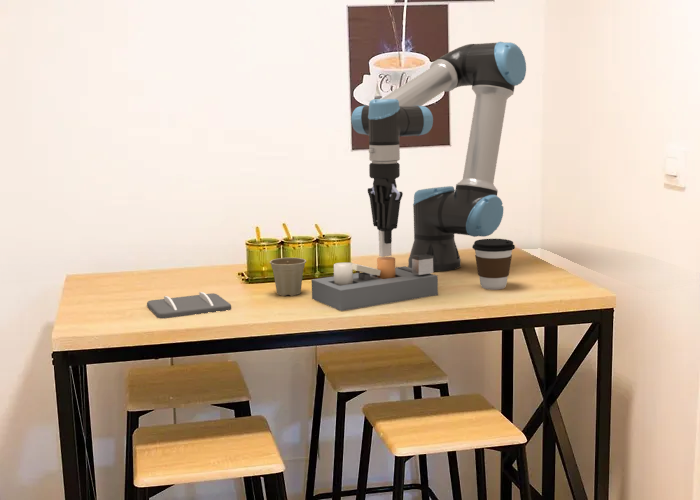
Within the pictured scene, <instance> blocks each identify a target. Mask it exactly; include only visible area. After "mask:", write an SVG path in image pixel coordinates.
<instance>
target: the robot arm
mask: <svg viewBox="0 0 700 500" xmlns="http://www.w3.org/2000/svg"><path fill="white" fill-rule="evenodd" d="M526 62H527V61H526V58H525V55H524V53H523V50H522V49H521V48H520V46H518V45H517V44H515V43H513V42H505V41H504V42H503V41H498V42H486V43H469V44H465V45H461V46H459V47H457V48H455V49H453V50H451V51H449V52H447V53H446V54H444V55H442V56H440V57H438V58H437V59H435V60H434V61H433V62H432V63H431V64H430V67H429V68H428V69H426V70H424V71H423V72H422V73H420V74H419V75H417V76H416V77H414V78H412V79H411V80H409V81H407V82H406V83H404V84H403V85H401V86H399V87H398V88H396V89H395V90H393V91H392V92H390V93H389V94H387V95H386V96H384V97H383V98H380V99H379V98H378V99H377V98H376V99H375V98H374V99H371V100H370V101H369V103H368V105H366V104H365V105H360V106H358V107H355V109H354V110H353V111H352V114H351V117H350V120H351V126H352V129H353V130H354V131H355V132H356V133H357V134H360V135H366V136H368V145H369V150H368V153H369V155H368V156H369V158H368V159H369V160H368V161H371V162H370V163H369V165H368V166H369V167H368V168H369V169H368V171H369V178H370V179H373V182H372V187H370V188H367V194H368V197H369V202H370V209H371V217H372V224H373V227H376V228H377V230H378V246H379V247H378V250H379V253H378V255H379V257H393V256H392V242H393V238H392V232H393V230H395V229H397V228H398V223H399V215H400V207H401V200H402V198H403V194H404V193H403V191H399V190H398V189H397V186H398V185H397V182H396V179H398V178H399V177H400V173H401V172H400V171H401V169H400V168H401V167H400V163H399V161H400V159H401V156H400V154H401V153H400V151H401V150H400V137H416V136H417V137H420V136H422V135H426V134H429V132H431V129H433V128H432V127H433V125H434V124H433V123H434V116H433V114H432V111H431V110H430V108H428V107H426V106H425V104H427V103H428V102H430V101H431V100H433V99H434V98H436V97H437V96H439V95H440V94H442V93H443V92H450V91H453V90H454V89H456V88H459V87H467V86H471V90H472V91H473V92H474V94H475V100H474V106H473V112H472V120H471V125H470V130H469V137H468V138H469V139H468V143H467V145H468V146H467V150H466V156H465V161H464V162H465V164H464V169H463V174H462V175H463V176H462V179H461V180H460V181H459V182H457V183H456V184H455V187H454V186H450V185H449V186H448V185H447V186H436V187H430V188H423V189H418V190H416V191H415V192H414V194H413V195H414V196H413V204H412V206H413V207H412V208H413V237H414V238H413V243H412V247H411V250H410V253H409V257H408V259H407V260H408V263H407V264H408V267H409V268H412V258H411V256H413V255H420V254H430V255H434V258H433V272H446V271H447V272H448V271H453V270H458V269H459V268H461V263H462V262H461V259H462V258H461V256H460V254H459V251H458V246H457V245H456V244H457V243H456V240H455V234H456V235H464V236H470V237H474V238H475V237H488V236H491V235H492V234H493V233H494V232H495V231H496V230H498V228H499V227H500V225H501V222H502V220H503V216H504V206H503V201H502V199H501V198H500V197H499V196H498V193H499V191H498V188H497V187H496V186H495V185H494V183H495V175H496V171H497V170H496V169H497V164H498V157H499V153H500V152H499V150H500V143H501V138H502V132H503V127H504V126H503V125H504V119H505V113H506V107H507V100H508V99H509V98H510V97H512V96H513V95H514V92H515V86H518V85H520V84H522V83H523V81H524V80H525V78H526V73H527V63H526Z"/></svg>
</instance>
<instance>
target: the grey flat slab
mask: <svg viewBox="0 0 700 500" xmlns="http://www.w3.org/2000/svg"><path fill="white" fill-rule="evenodd" d="M146 307H147V308H148V309H149V310H150V311H151V312H152V313H153V315H155V317H157V318H158V319H170V318H178V317H179V318H180V317H187V316H194V315H195V314H196V315H202V314H201V313H204V314H209V313H208V312H212V313H217V312H216V311H220V312H227V311H226V310H228V311H232V305H231V303H230V302H228V301H227V300H225V299H224V298H223V297H222V296H220V295H219V294H218V293H205V292H204V291H199V293H198V294H195V295H187V296H178V297H176V296H175V297H170V296H167V295H165V296H164V297H163V298H160V299H151V300H148V301H147V302H146Z"/></svg>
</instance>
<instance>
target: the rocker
mask: <svg viewBox="0 0 700 500" xmlns="http://www.w3.org/2000/svg"><path fill="white" fill-rule="evenodd" d="M348 263H352V269H353V271H356V272H360V273H361V272H365V273H370V274H374V275H378V276H380V272H381V270H378V269H377V268H374V267H371V266H368V265H362V264H358V263H353V262H348Z"/></svg>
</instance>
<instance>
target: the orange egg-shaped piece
mask: <svg viewBox="0 0 700 500" xmlns="http://www.w3.org/2000/svg"><path fill="white" fill-rule="evenodd" d="M395 268H396V258H395V257H394V256H384V257H382V256H379V257H377V258H376V269H378V270H381V272H380V276H378V275H377V277H378V278H381V279H388V278H395V277H396V273H395Z"/></svg>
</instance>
